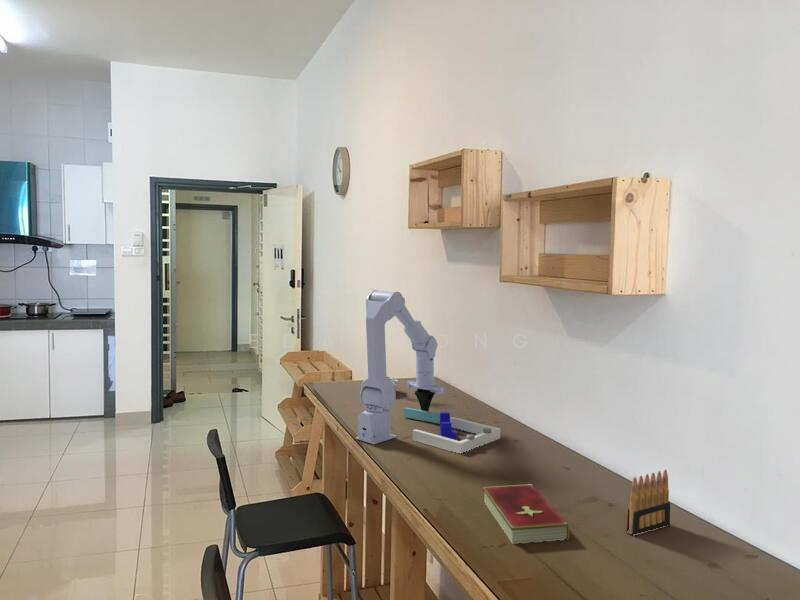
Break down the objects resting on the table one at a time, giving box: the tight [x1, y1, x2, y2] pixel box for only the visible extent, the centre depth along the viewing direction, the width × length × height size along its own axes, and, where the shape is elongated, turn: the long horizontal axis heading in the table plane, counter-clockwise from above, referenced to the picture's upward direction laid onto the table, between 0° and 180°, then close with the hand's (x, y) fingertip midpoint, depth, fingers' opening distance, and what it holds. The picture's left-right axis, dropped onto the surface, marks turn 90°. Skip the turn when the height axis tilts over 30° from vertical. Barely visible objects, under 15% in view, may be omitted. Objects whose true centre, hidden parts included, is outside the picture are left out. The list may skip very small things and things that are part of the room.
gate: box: [403, 407, 440, 425], centre depth 212 cm, size 17×1×3 cm, turn 55°
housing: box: [412, 416, 501, 455], centre depth 194 cm, size 19×18×4 cm
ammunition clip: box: [626, 469, 671, 534], centre depth 135 cm, size 11×2×12 cm, turn 118°
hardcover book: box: [482, 483, 571, 545], centre depth 140 cm, size 12×21×4 cm, turn 8°
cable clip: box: [439, 411, 458, 441], centre depth 197 cm, size 12×4×6 cm, turn 178°
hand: (425, 412), depth 214 cm, fingers closed, pressing on gate
